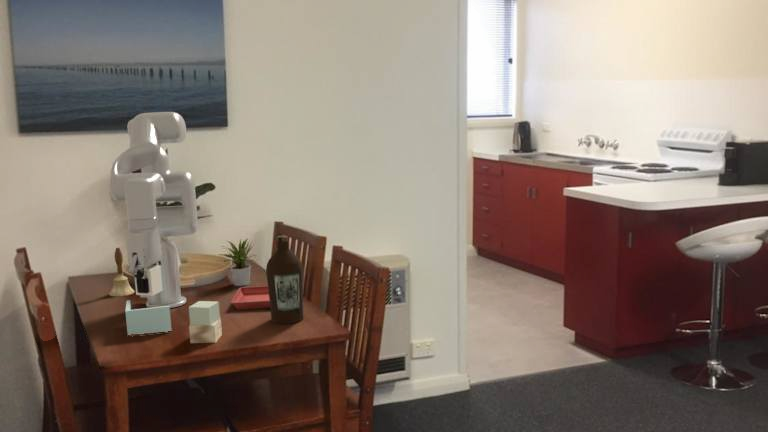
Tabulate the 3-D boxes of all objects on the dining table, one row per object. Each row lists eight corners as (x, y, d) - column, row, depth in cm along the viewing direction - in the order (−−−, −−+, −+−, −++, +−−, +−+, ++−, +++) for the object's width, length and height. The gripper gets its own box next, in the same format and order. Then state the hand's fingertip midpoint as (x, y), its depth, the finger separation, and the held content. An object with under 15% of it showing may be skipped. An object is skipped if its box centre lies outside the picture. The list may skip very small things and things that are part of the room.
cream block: (136, 294, 215) (133, 269, 214) (146, 289, 220) (144, 264, 218) (152, 295, 214) (150, 270, 212) (162, 290, 219) (160, 265, 217)
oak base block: (190, 343, 219) (189, 326, 218) (197, 335, 226) (196, 318, 225) (215, 343, 218) (214, 325, 218) (222, 334, 225) (220, 317, 224)
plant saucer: (231, 312, 248) (230, 301, 247) (240, 296, 266) (239, 286, 265) (289, 309, 248) (289, 299, 248) (295, 294, 266) (294, 284, 265)
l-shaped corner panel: (171, 331, 230) (169, 306, 228) (127, 337, 226) (125, 311, 225) (170, 320, 241) (168, 295, 240) (128, 324, 238) (126, 300, 236)
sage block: (190, 324, 219) (188, 307, 218) (200, 318, 225) (198, 300, 224) (210, 325, 218) (208, 307, 217) (220, 319, 223) (218, 301, 222)
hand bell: (139, 291, 275) (135, 246, 273) (120, 297, 269) (115, 251, 266) (123, 289, 280) (119, 244, 277) (103, 295, 273) (99, 249, 270)
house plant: (228, 278, 289) (225, 233, 287) (266, 277, 288) (263, 233, 285) (215, 288, 276) (211, 242, 273) (254, 288, 274) (251, 241, 271)
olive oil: (267, 316, 240) (261, 234, 236) (302, 312, 243) (297, 231, 239) (272, 326, 230) (266, 241, 226) (308, 322, 233) (303, 238, 229)
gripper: (147, 216, 222) (153, 280, 226) (111, 230, 206) (118, 298, 210) (172, 217, 220) (177, 281, 224) (137, 231, 204) (144, 299, 208)
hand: (149, 288), depth 217 cm, fingers closed on cream block, 5 cm apart
